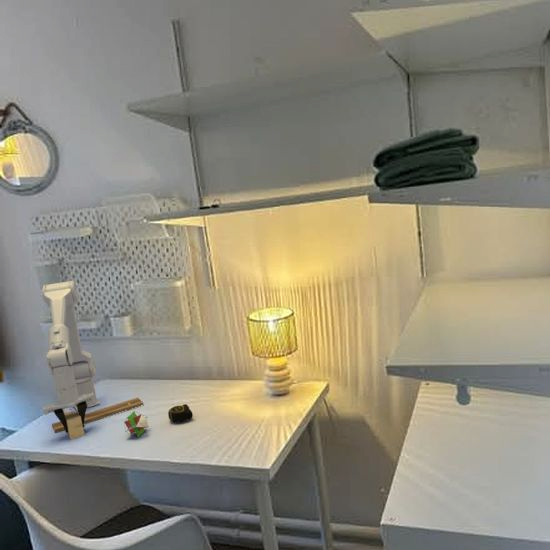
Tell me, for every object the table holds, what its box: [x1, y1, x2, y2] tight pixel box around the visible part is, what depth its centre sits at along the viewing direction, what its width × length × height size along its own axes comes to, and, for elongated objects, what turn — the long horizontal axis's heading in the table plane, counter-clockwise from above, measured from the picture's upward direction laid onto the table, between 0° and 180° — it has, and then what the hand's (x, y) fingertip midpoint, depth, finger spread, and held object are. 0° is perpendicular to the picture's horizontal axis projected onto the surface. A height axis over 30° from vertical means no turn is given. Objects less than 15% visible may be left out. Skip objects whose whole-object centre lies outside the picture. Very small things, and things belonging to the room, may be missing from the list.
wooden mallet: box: [64, 409, 85, 440], centre depth 184 cm, size 13×4×6 cm, turn 29°
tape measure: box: [168, 403, 193, 424], centre depth 182 cm, size 7×7×4 cm
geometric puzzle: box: [123, 410, 149, 438], centre depth 175 cm, size 7×7×8 cm
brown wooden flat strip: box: [51, 397, 144, 434], centre depth 194 cm, size 6×28×1 cm, turn 119°
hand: (74, 429), depth 182 cm, fingers closed on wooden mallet, 4 cm apart
